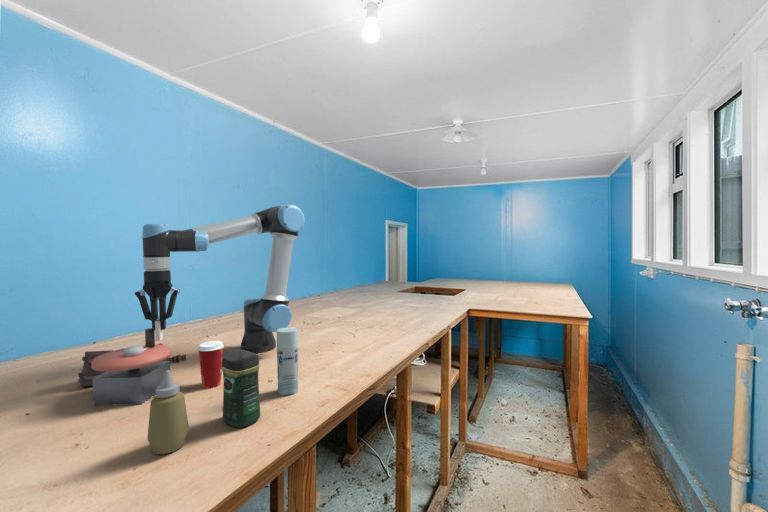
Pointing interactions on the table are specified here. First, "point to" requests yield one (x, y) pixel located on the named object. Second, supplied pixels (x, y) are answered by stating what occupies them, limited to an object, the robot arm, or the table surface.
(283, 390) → the spray paint can
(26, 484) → the table surface
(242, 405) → the coffee jar
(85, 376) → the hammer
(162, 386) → the squeeze bottle
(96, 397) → the grey box
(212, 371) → the paper cup
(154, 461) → the table surface
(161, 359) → the handwheel
